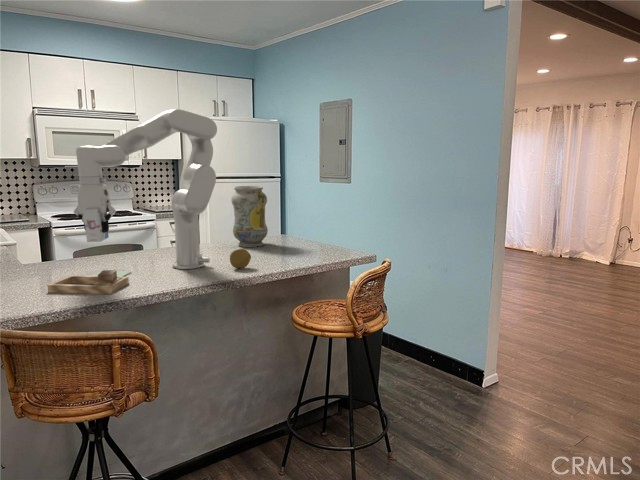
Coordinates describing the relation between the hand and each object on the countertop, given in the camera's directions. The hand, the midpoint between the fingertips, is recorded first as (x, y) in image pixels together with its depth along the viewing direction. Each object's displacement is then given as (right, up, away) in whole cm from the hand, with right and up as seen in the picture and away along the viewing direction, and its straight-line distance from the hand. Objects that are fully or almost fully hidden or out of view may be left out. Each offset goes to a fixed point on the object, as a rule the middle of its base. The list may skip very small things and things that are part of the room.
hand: (97, 231), depth 167 cm
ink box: (0, -3, +1) cm, 3 cm away
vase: (+44, -6, +72) cm, 84 cm away
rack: (+2, -19, -8) cm, 21 cm away
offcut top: (+8, -17, -9) cm, 21 cm away
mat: (+1, -17, +6) cm, 18 cm away
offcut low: (+8, -20, -9) cm, 23 cm away
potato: (+48, -15, +21) cm, 54 cm away
